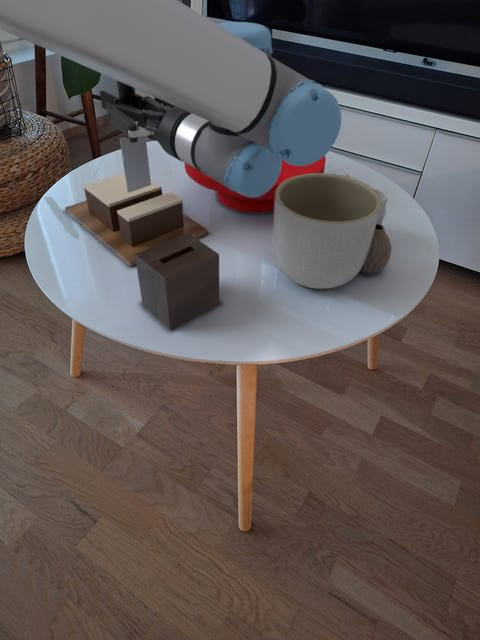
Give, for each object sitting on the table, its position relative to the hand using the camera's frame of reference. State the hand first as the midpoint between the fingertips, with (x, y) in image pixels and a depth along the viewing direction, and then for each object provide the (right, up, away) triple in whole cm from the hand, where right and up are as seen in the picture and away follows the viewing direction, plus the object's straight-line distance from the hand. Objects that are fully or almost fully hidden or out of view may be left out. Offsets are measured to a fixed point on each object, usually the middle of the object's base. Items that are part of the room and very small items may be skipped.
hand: (112, 97), depth 81 cm
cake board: (+1, -19, +15) cm, 24 cm away
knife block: (+13, -36, -4) cm, 39 cm away
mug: (+45, -22, +14) cm, 52 cm away
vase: (+46, -29, +6) cm, 55 cm away
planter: (+36, -30, +4) cm, 48 cm away
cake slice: (+5, -22, +11) cm, 25 cm away
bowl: (+25, -11, +25) cm, 37 cm away
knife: (+3, -14, +7) cm, 16 cm away
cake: (-1, -16, +16) cm, 23 cm away
